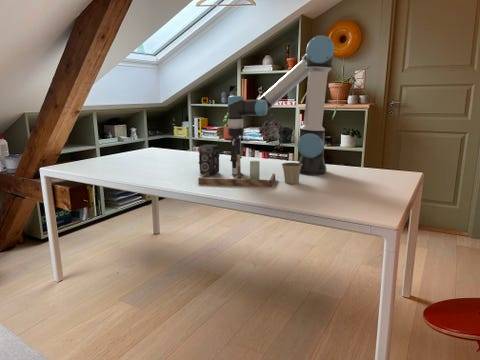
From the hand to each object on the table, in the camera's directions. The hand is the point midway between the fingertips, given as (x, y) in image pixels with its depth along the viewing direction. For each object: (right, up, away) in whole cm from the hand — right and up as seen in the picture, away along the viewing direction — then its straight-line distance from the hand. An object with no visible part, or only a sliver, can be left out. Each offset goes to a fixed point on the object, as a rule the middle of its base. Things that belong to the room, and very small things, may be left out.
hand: (236, 172), depth 184 cm
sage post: (+9, -5, -17) cm, 20 cm away
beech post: (0, -1, 0) cm, 1 cm away
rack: (+1, -5, -16) cm, 17 cm away
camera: (-14, -1, +1) cm, 14 cm away
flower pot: (+26, -5, -18) cm, 32 cm away
